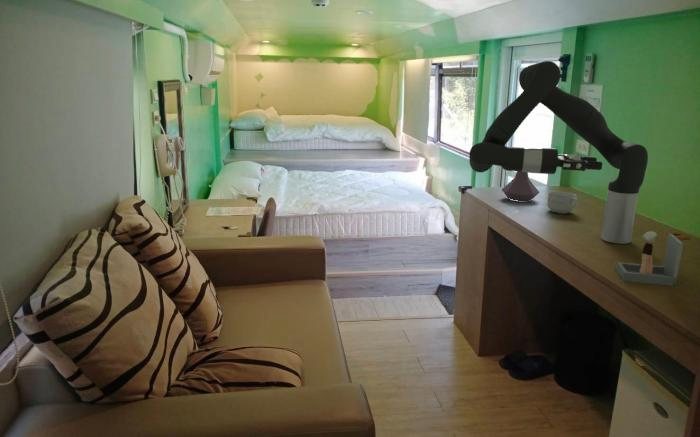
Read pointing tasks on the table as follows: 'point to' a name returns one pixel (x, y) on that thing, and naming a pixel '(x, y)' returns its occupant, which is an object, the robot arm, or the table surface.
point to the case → (656, 267)
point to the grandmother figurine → (648, 253)
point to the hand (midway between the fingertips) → (598, 163)
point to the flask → (520, 188)
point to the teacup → (562, 202)
